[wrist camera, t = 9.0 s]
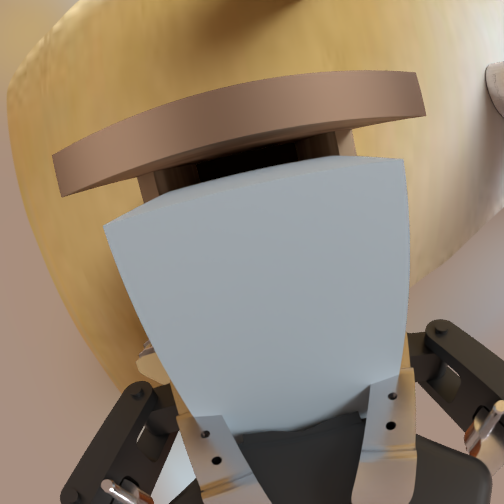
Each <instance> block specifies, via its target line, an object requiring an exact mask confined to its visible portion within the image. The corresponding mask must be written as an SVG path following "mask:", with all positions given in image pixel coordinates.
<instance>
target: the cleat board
mask: <svg viewBox="0 0 504 504" xmlns="http://www.w3.org/2000/svg"><path fill="white" fill-rule="evenodd" d="M421 116H426V112H425V107H424V103H423V98H422V94H421V90H420V86H419V83H418V79H417V75H416V73H415V72H401V71H370V70H364V71H333V72H319V73H307V74H298V75H290V76H283V77H276V78H269V79H263V80H258V81H252V82H247V83H242V84H237V85H233V86H228V87H224V88H220V89H216V90H212V91H208V92H204V93H200V94H197V95H193V96H190V97H186V98H183V99H180V100H177V101H174V102H171V103H168V104H165V105H162V106H159V107H156V108H153V109H150V110H148V111H145V112H142V113H140V114H137V115H134V116H132V117H129V118H127V119H125V120H122V121H120V122H117V123H115V124H113V125H111V126H108V127H106V128H104V129H102V130H100V131H97V132H95V133H93V134H91V135H89V136H87V137H85V138H83V139H81V140H79V141H77V142H75V143H73V144H72V145H70V146H68V147H66V148H64V149H62V150H61V151H59V152H57V153H55V154H54V155H52V158H53V163H54V168H55V172H56V177H57V181H58V185H59V189H60V193H61V197H65V196H68V195H71V194H75V193H78V192H81V191H85V190H88V189H92V188H96V187H99V186H103V185H107V184H111V183H114V182H118V181H122V180H127V179H131V178H135V177H137V179H138V183H139V187H140V190H141V194H142V198H143V201H144V204H145V203H147V202H149V201H150V200H152V199H154V198H157V197H159V196H161V195H163V194H165V193H167V192H169V191H173V190H176V189H180V188H183V187H187V186H191V185H194V184H198V183H200V179H199V175H198V171H197V167H196V164H199V163H203V162H207V161H210V160H214V159H218V158H222V157H226V156H231V155H235V154H239V153H244V152H248V151H253V150H257V149H262V148H267V147H272V146H277V145H283V144H288V143H294V142H295V147H296V151H297V156H298V161H302V160H307V159H313V158H319V157H325V156H357V155H356V149H355V144H354V139H353V134H352V129H355V128H359V127H364V126H369V125H374V124H379V123H385V122H390V121H396V120H402V119H408V118H415V117H421Z"/></svg>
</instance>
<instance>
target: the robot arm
mask: <svg viewBox="0 0 504 504" xmlns="http://www.w3.org/2000/svg"><path fill="white" fill-rule="evenodd" d="M486 82H487V87H488V91H489V94H490V96H491V99H492V101H493V103H494V105H495V107H496V109H497V110H498V112H499V113H500V114H501V115H502V116H503V117H504V61H503V62H498V63H493V64H490V65H489V66H488V67H487V70H486ZM448 365H449V366H450V367H451V368H452V369H453V370H455V371H456V372H457V373H458V374H459V376H460V377H459V376H458V375H457V374H455V373H454V372H453V371H452V370H451V369H450V368H449V367H448ZM415 382H418V383H419V384H420V385H421V387H422V388H424V390H425V391H426V392H427V393H428V394H429V395H430V396H431V397H432V398H433V399H434V400H435V401H436V402H437V403H438V404H439V405H440V406H441V407H442V408H443V409H444V411H445V412H446V413H447V414H448V415H449V416H450V417H451V418H452V419H453V420H454V421H455V422H456V423H457V424H458V426H459V427H460V428H461V429H462V430H463V431H464V432H465V435H464V443H465V445H466V451H467V452H468V453H469V455H468V454H465V453H462V452H460V451H457V450H454V449H451V448H449V447H446V446H444V445H441V444H439V443H437V442H434V441H431V440H429V439H427V438H425V437H422V436H420V435H418V434H416V400H415ZM143 426H145V429H144V431H143V433H142V434H141V436H140V438H139V440H138V442H137V438H138V436H139V434H140V432H141V430H142V428H143ZM179 430H180V432H181V436H182V438H183V442H184V444H185V447H186V451H187V454H188V456H189V459H190V462H191V465H192V467H193V470H194V473H195V475H196V479H195V480H194V481H193V482H191V483H190V484H189V485H188V486H187V487H186V488H185V489H184V490H183V491H182V492H181V493H180V494H179V495H178V496H177V497H176V498H175V499H173V500H172V501H171V502H170V503H169V504H490V498H491V492H492V476H493V475H494V474H495V473H496V472H497V471H498V470H499V469H500V468H501V467H502V466H503V465H504V361H503V360H502V359H500V358H499V357H498V356H497V355H495V354H494V353H493V352H491V351H490V350H489V349H487V348H486V347H485V346H483V345H482V344H481V343H479V342H478V341H477V340H475V339H474V338H473V337H471V336H470V335H468V334H467V333H466V332H464V331H462V330H461V329H460V328H459V327H457V326H456V325H454V324H453V323H451V322H450V321H447V320H441V319H440V320H434V321H432V322H430V323H429V324H428V325H427V326H426V330H425V332H419V333H407V332H406V331H405V339H404V347H403V354H402V360H401V366H400V372H399V375H396V376H393V377H391V378H388V379H385V380H382V381H379V382H376V383H373V384H371V385H370V394H369V403H368V411H367V418H361V417H360V415H359V412H358V411H357V412H353V413H350V414H346V415H343V416H339V417H335V418H332V419H329V420H327V421H325V422H323V423H321V424H318V425H316V426H314V427H312V428H309V429H307V430H305V431H301V432H291V431H266V432H259V433H251V434H243V442H242V443H239V444H237V443H236V441H235V439H234V437H233V435H232V433H231V431H230V429H229V427H228V425H227V424H226V422H225V420H224V418H223V416H222V415H214V416H200V417H193V415H192V414H191V412H190V411H189V409H188V407H187V406H186V404H185V403H184V401H183V399H182V398H181V396H180V395H179V393H178V391H177V390H176V388H175V386H174V384H173V383H172V381H171V379H170V383H168V384H166V385H162V386H159V387H156V388H152V386H151V385H150V383H148V382H145V381H139V382H135V383H133V384H131V385H129V386H128V387H127V388H126V389H125V390H124V392H123V393H122V395H121V397H120V398H119V400H118V401H117V403H116V404H115V406H114V407H113V409H112V410H111V412H110V414H109V415H108V417H107V418H106V420H105V421H104V423H103V425H102V426H101V428H100V429H99V431H98V432H97V434H96V435H95V437H94V439H93V440H92V442H91V444H90V445H89V447H88V448H87V450H86V451H85V453H84V455H83V456H82V458H81V459H80V461H79V463H78V465H77V466H76V468H75V469H74V471H73V473H72V474H71V476H70V478H69V479H68V481H67V483H66V484H65V486H64V488H63V489H62V491H61V495H60V501H61V504H154V501H153V499H152V497H151V493H152V491H153V489H154V487H155V484H156V482H157V480H158V477H159V475H160V473H161V470H162V468H163V466H164V463H165V461H166V459H167V457H168V454H169V452H170V450H171V447H172V445H173V443H174V440H175V438H176V436H177V433H178V431H179Z"/></svg>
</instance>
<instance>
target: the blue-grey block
mask: <svg viewBox="0 0 504 504" xmlns="http://www.w3.org/2000/svg"><path fill="white" fill-rule="evenodd" d="M103 228H104V231H105V234H106V237H107V240H108V243H109V246H110V249H111V251H112V254H113V257H114V260H115V262H116V265H117V267H118V270H119V273H120V275H121V278H122V280H123V283H124V285H125V287H126V290H127V292H128V295H129V297H130V299H131V302H132V304H133V306H134V308H135V311H136V313H137V315H138V317H139V319H140V321H141V324H142V326H143V328H144V330H145V332H146V334H147V336H148V338H149V340H150V342H151V344H152V346H153V348H154V350H155V352H156V354H157V356H158V357H159V359H160V361H161V363H162V365H163V367H164V369H165V370H166V372H167V374H168V376H169V377H170V379H171V381H172V383H173V384H174V386H175V388H176V390H177V391H178V393H179V395H180V396H181V398H182V399H183V401H184V403H185V404H186V406H187V407H188V409H189V411H190V412H191V414H192V415H193V417H200V416H214V415H222V416H223V418H224V420H225V422H226V424H227V425H228V427H229V429H230V431H231V433H232V435H233V437H234V439H235V441H236V443H237V444H239V443H242V442H243V434H251V433H259V432H266V431H291V432H301V431H305V430H307V429H309V428H312V427H314V426H316V425H318V424H321V423H323V422H325V421H327V420H329V419H332V418H335V417H339V416H343V415H346V414H350V413H353V412H357V411H358V412H359V415H360V417H361V418H367V411H368V403H369V394H370V385H371V384H373V383H376V382H379V381H382V380H385V379H388V378H391V377H393V376H396V375H399V372H400V366H401V360H402V354H403V347H404V339H405V331H406V322H407V310H408V296H409V277H410V230H409V210H408V197H407V186H406V176H405V168H404V161H403V159H394V158H380V157H363V156H325V157H319V158H313V159H307V160H302V161H296V162H291V163H285V164H280V165H275V166H270V167H266V168H261V169H256V170H252V171H247V172H243V173H238V174H234V175H230V176H226V177H222V178H218V179H214V180H210V181H206V182H202V183H198V184H194V185H191V186H187V187H183V188H180V189H176V190H173V191H169V192H167V193H165V194H163V195H161V196H159V197H157V198H154V199H152V200H150V201H149V202H147V203H145V204H143V205H141V206H139V207H137V208H135V209H133V210H131V211H129V212H127V213H125V214H124V215H122V216H120V217H118V218H116V219H114V220H113V221H111V222H109V223H107V224H105V225H104V226H103Z"/></svg>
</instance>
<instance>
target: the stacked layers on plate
mask: <svg viewBox="0 0 504 504" xmlns="http://www.w3.org/2000/svg"><path fill="white" fill-rule="evenodd" d="M144 348H145V349H144V350H143V351H142V352H141V353H139V359H138V360H137V361H136V365H137V367H138V370H139V372H140V373H141V374H143V375H145V376H146V377H148V378H150V379H152V380H154V381H156V382H158V383H160V384H162V385H166V384H168V383H170V377H169V376H168V374H167V372H166V370H165V369H164V367H163V365H162V363H161V361H160V359H159V357H158V356H157V354H156V352H155V350H154V348H153V346H152V344H151V342H150V340H148V341H147V342H145V343H144Z"/></svg>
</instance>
